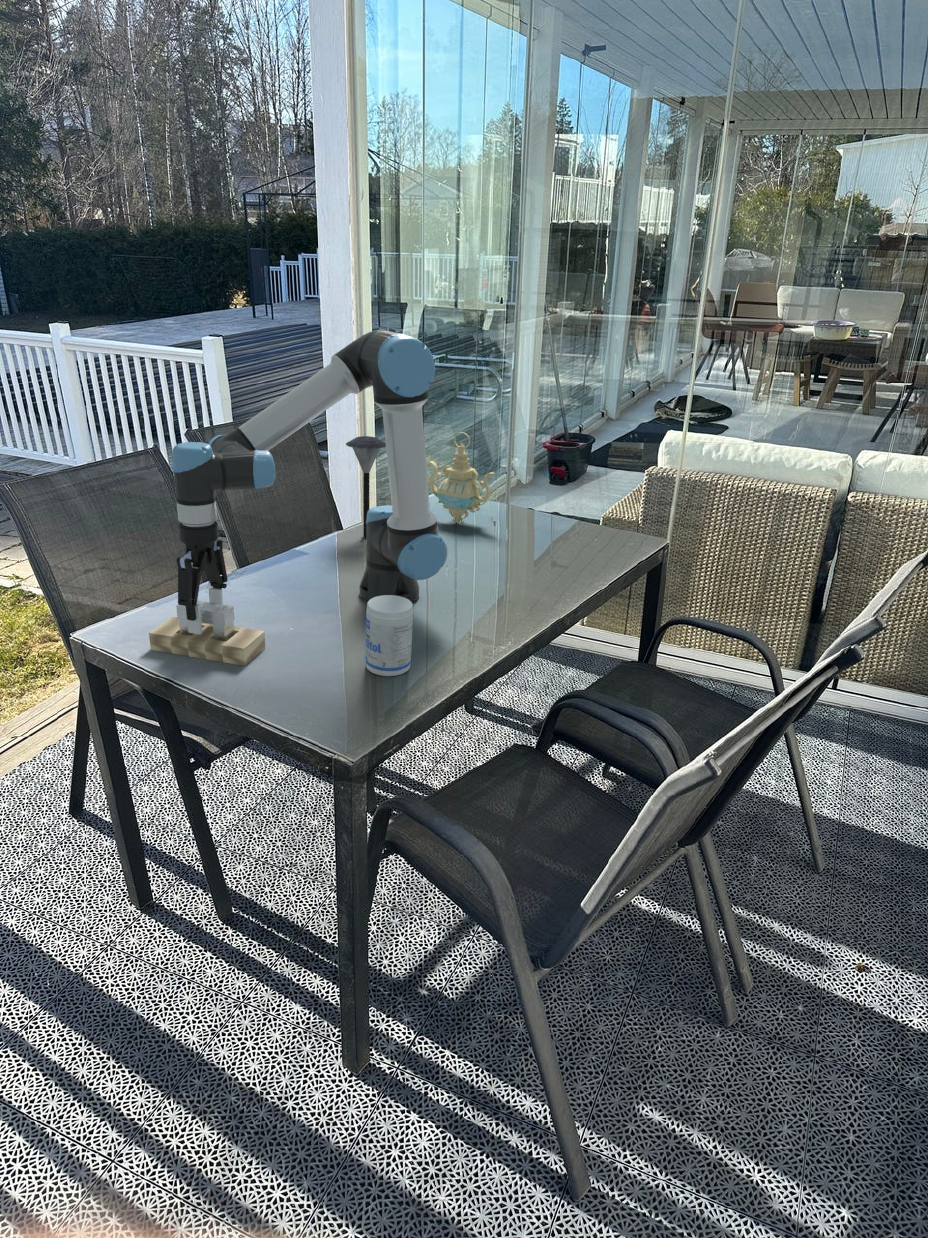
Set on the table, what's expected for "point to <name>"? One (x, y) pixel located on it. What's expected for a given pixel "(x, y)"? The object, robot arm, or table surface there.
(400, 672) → the supplement tub
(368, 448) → the solar garden light
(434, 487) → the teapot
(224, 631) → the grey u-shaped block
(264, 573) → the table surface
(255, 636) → the wooden block with holes
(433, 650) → the table surface
